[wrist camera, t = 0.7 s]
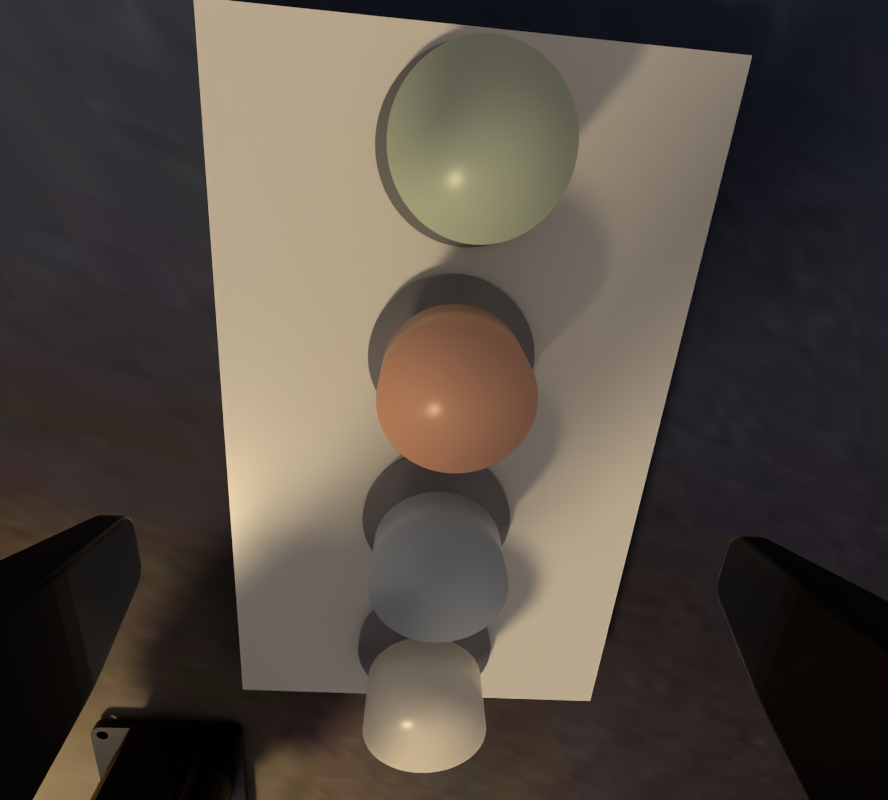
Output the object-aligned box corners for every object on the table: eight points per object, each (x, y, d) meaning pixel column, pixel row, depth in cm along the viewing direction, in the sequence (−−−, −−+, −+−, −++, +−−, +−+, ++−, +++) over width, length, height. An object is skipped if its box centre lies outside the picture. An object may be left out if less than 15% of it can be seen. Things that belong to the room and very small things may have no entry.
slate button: (492, 598, 19) (499, 645, 17) (371, 592, 19) (366, 639, 17) (507, 495, 17) (516, 534, 16) (376, 488, 17) (370, 527, 15)
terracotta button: (515, 443, 17) (526, 477, 15) (378, 434, 17) (373, 469, 15) (534, 309, 15) (549, 329, 13) (384, 298, 15) (379, 317, 13)
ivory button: (474, 720, 21) (479, 774, 19) (366, 717, 21) (360, 771, 19) (486, 639, 20) (492, 688, 18) (370, 634, 19) (364, 684, 18)
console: (577, 661, 25) (592, 709, 23) (256, 649, 24) (239, 698, 22) (715, 67, 16) (760, 52, 14) (220, 16, 16) (186, -8, 13)
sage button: (544, 240, 15) (562, 252, 13) (387, 227, 14) (382, 237, 12) (571, 60, 13) (595, 44, 11) (395, 43, 13) (391, 22, 11)
